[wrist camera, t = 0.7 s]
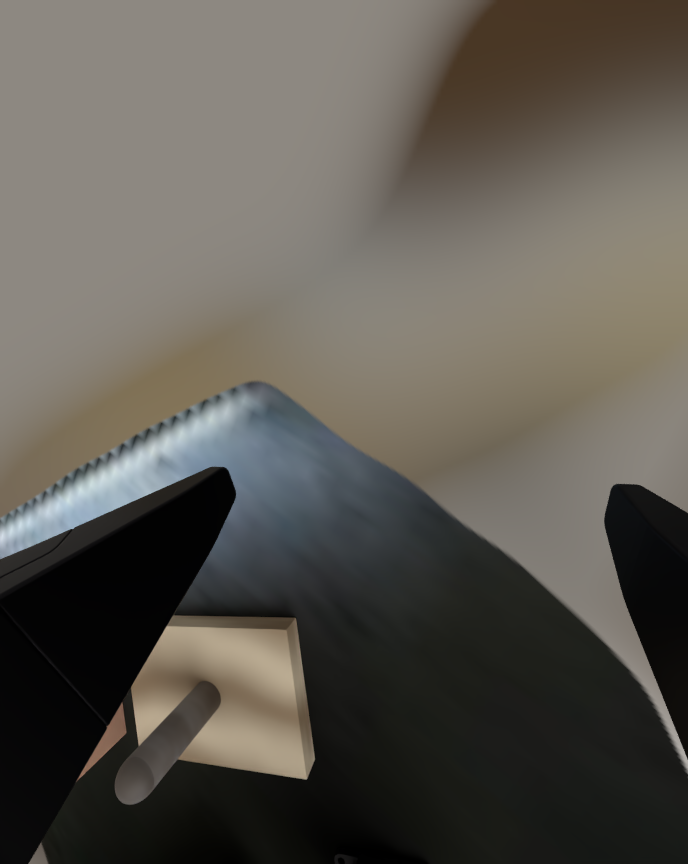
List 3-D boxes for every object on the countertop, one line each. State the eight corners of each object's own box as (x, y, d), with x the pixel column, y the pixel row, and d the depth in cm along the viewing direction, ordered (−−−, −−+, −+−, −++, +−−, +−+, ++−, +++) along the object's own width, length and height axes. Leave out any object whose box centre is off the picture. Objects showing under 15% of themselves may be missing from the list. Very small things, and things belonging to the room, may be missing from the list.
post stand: (314, 759, 25) (249, 924, 17) (155, 736, 29) (39, 862, 21) (295, 617, 25) (221, 714, 17) (138, 614, 29) (16, 692, 21)
